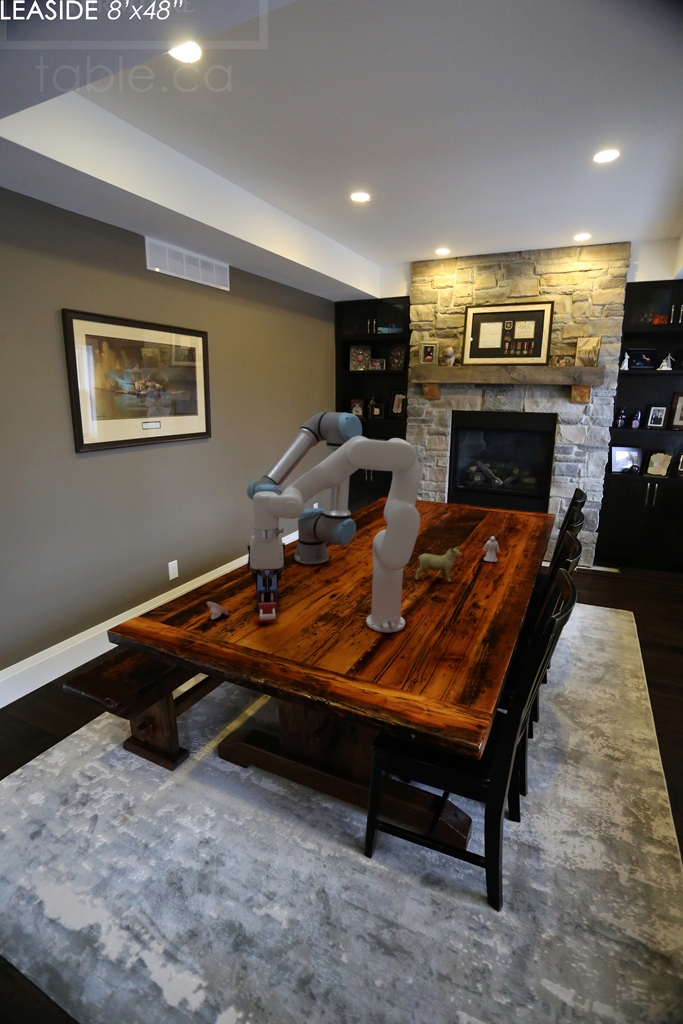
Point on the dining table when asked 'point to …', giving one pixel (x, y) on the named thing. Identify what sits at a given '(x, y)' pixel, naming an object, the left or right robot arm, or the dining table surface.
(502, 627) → the dining table surface
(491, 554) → the figurine
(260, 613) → the drawer
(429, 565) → the toy
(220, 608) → the seashell
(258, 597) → the cabinet
